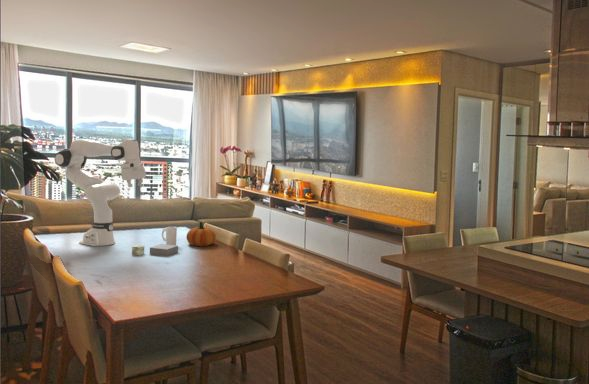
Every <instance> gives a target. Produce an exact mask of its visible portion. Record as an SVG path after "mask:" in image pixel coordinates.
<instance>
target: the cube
mask: <svg viewBox="0 0 589 384" xmlns="http://www.w3.org/2000/svg"><path fill="white" fill-rule="evenodd" d="M144 254H145V245H142V244H141V245H140V244H136V245H133V246H132V247H131V255H133V256H141V255H144Z"/></svg>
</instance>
